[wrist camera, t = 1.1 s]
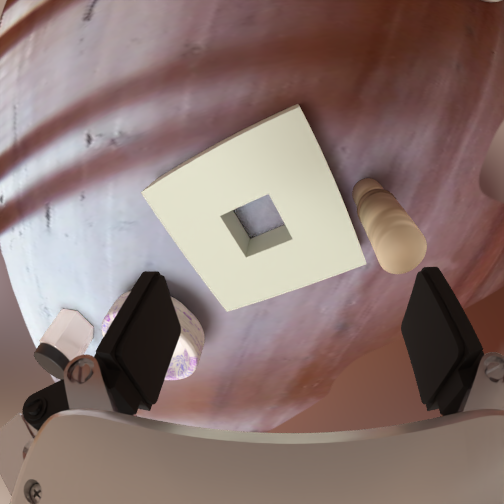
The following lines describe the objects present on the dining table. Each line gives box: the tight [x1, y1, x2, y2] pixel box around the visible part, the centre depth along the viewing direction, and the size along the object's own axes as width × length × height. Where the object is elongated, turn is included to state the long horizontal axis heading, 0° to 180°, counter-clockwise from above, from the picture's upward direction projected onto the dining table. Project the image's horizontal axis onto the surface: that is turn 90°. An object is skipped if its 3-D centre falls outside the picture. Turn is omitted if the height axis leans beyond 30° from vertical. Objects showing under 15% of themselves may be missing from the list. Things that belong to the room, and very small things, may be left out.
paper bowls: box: [102, 291, 205, 380], centre depth 41 cm, size 15×15×8 cm
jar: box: [34, 309, 93, 380], centre depth 45 cm, size 9×8×12 cm
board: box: [141, 104, 366, 312], centre depth 31 cm, size 18×18×4 cm
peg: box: [352, 178, 427, 274], centre depth 25 cm, size 4×4×12 cm
